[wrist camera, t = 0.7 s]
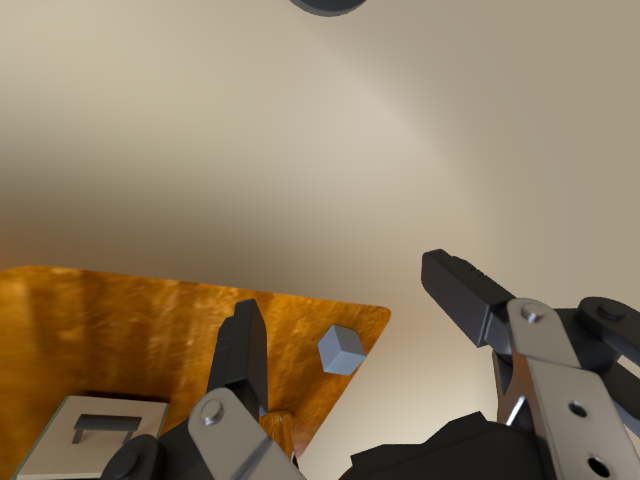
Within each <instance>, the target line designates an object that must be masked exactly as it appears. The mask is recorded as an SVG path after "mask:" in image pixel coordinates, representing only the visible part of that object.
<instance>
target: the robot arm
mask: <svg viewBox="0 0 640 480" xmlns="http://www.w3.org/2000/svg"><path fill="white" fill-rule="evenodd" d="M421 281H422V285H423V287H424V289H425V290H426V291H427V292H428V293H429V295H430V296H431V297H432V298H433V299H434V300H435V301H436V302H437V303H438V305H439V306H440V307H441V308H442V309H443V310H444V311H445V312H446V313H447V315H448V316H449V317H450V318H451V319H452V320H453V321H454V322H455V323H456V324H457V326H458V327H459V328H460V329H461V330H462V331H463V332H464V333H465V334H466V336H467V337H468V338H469V339H470V340H471V341H472V342H473V343H474V344H475V345H476V346H477V348H479V347H482V346H486V345H490V346H491V347H492V348H493V351H492V358H493V365H494V372H495V380H496V388H497V395H498V411H497V422H493V421H487V420H486V419H485V417H484V416H483V415H482V413H481V412H480V411H478V412H475V413H472V414H470V415H466V416H464V417H461V418H458V419H455V420H452V421H449V422H448V423H447V424H446V425H445V426H443V427H442V428H441V429H440V430H439V431H437V432H436V433H435V434H434V435H433V436H432V437H430V438H429V439H428V440H427V441H426V442H424V443H422V444H383V445H380V446H377V447H375V448H372V449H369V450H366V451H363V452H360V453H357V454H354V455H351V456H350V457H351V461H352V465H353V466H352V467H351V468H349V469H348V470H347V471H346V472H345V473H344V474H343V475H342V476H341V477H340V478H339V479H338V480H640V458H639V456H638V454H637V452H636V449H635V447H634V446H633V443H632V441H631V439H630V437H629V435H628V433H627V431H626V429H625V427H624V425H623V424H625V425H626V426H627V427H628V428H629V429H630V430H631V431H632V432H633V433H634V434H636V435H637V436H638V437H639V438H640V379H639V378H637V377H636V376H635V375H634V374H632V373H631V372H630V371H628V370H627V369H626V368H624V367H623V366H622V365H620V364H619V363H618V362H617V361H618V359H619V358H620V357H621V355H624V356H625V357H627V358H628V359H629V360H631V361H632V362H634V363H635V364H636V365H638V366H639V367H640V312H638V311H636V310H635V309H633V308H631V307H629V306H627V305H625V304H623V303H621V302H618V301H615V300H611V299H608V298H603V297H587V298H584V299H583V300H581V302H580V304H579V306H578V308H573V309H568V308H566V309H552V308H551V307H549V306H547V305H546V304H544V303H542V302H539V301H537V300H533V299H528V298H516V297H515V296H514V295H512V294H511V293H509V292H508V291H507V290H505V289H504V288H503V287H501V286H500V285H499V284H497V283H496V282H495V281H493V280H492V279H491V278H489V277H488V276H487V275H484V273H482V272H481V271H480V270H477V269H476V268H475V267H474V266H473V265H471V264H470V263H469V262H467V261H466V260H463V259H460V258H458V257H456V256H453V257H452V256H450V255H449V254H448V253H446V252H445V251H444V250H442V249H437V250H433V251H429V252H425V253H424V254H423V257H422V271H421ZM266 414H268V389H267V332H266V326H265V323H264V320H263V318H262V315H261V313H260V310H259V308H258V306H257V303H256V301H255V299H254V298H253V299H249V300H245V301H241V302H238V303H236V305H235V311H234V316H232V317H228V318H226V319H225V321H224V322H223V324H222V326H221V327H220V329H219V333H218V337H217V343H216V347H215V352H214V357H213V362H212V367H211V371H210V376H209V381H208V386H207V390H206V394H205V395H204V396H203V397H202V398H201V399H200V400H199V401H198V403H197V404H196V405H195V407H194V408H193V410H192V412H191V414H190V417H189V418H187V419H186V420H185V421H183V422H182V423H180V424H179V425H177V426H176V427H174V428H173V429H171V430H170V431H168V432H166V433H165V434H163V435H162V436H160V437H159V438H157V439H156V438H155V437H154V436H152V435H150V434H143V435H139V436H137V437H135V438H133V439H131V440H130V441H128V442H127V443H126V444H124V445H123V446H122V447H121V448H120V449H119V450H118V451H117V452H116V453H115V454H114V455H113V457H112V458H111V459H110V461H109V462H108V463H107V465H106V467H105V468H104V470H103V472H102V474H101V476H100V479H99V480H307V479H306V478H305V477H304V476H303V474H302V473H301V472H300V471H299V470H298V468H297V467H296V466H295V465H294V464H293V462H292V461H291V460H290V459H289V458H288V456H287V455H286V454H285V453H284V452H283V450H282V449H281V448H280V447H279V446H278V444H277V443H276V442H275V441H274V440H273V439H272V438H271V437H269V436H268V435H267V433H266V432H265V431H264V430H263V429H262V427H261V426H260V425H259V416H262V415H266Z"/></svg>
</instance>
